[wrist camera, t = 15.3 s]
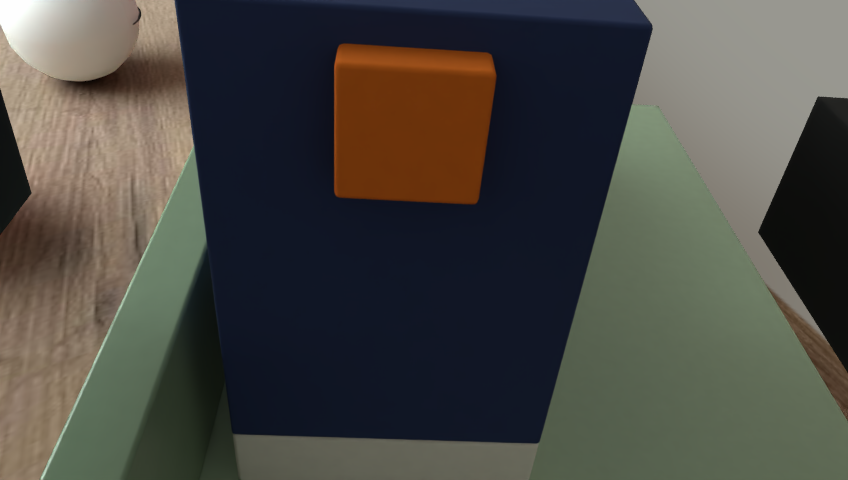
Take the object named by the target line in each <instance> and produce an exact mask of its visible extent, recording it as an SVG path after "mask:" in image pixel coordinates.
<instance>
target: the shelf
mask: <svg viewBox="0 0 848 480" xmlns="http://www.w3.org/2000/svg"><path fill="white" fill-rule="evenodd" d="M40 480H240V479H239V477H238V472H237V464H236V457H235V449H234V441H233V433H232V429H231V421H230V414H229V406H228V399H227V391H226V384H225V376H224V369H223V361H222V354H221V346H220V338H219V331H218V323H217V316H216V308H215V301H214V293H213V286H212V278H211V271H210V263H209V256H208V248H207V241H206V233H205V225H204V218H203V210H202V203H201V195H200V188H199V180H198V173H197V165H196V158H195V150H194V146H193V148H192V150H191V153H190V155H189V157H188V159H187V161H186V163H185V166H184V168H183V170H182V172H181V174H180V176H179V179H178V181H177V183H176V185H175V187H174V189H173V192H172V194H171V196H170V198H169V200H168V202H167V205H166V207H165V209H164V211H163V213H162V215H161V218H160V220H159V222H158V224H157V226H156V228H155V231H154V233H153V235H152V237H151V239H150V242H149V244H148V246H147V248H146V250H145V252H144V255H143V257H142V259H141V261H140V263H139V265H138V268H137V270H136V272H135V274H134V276H133V278H132V281H131V283H130V285H129V287H128V289H127V291H126V294H125V296H124V298H123V300H122V302H121V304H120V307H119V309H118V311H117V313H116V315H115V317H114V320H113V322H112V324H111V326H110V328H109V330H108V333H107V335H106V337H105V339H104V341H103V343H102V346H101V348H100V350H99V352H98V354H97V356H96V359H95V361H94V363H93V365H92V367H91V370H90V372H89V374H88V376H87V378H86V380H85V383H84V385H83V387H82V389H81V391H80V393H79V396H78V398H77V400H76V402H75V404H74V406H73V409H72V411H71V413H70V415H69V417H68V419H67V422H66V424H65V426H64V428H63V430H62V432H61V435H60V437H59V439H58V441H57V443H56V445H55V448H54V450H53V452H52V454H51V456H50V458H49V461H48V463H47V465H46V467H45V469H44V471H43V474H42V476H41V478H40ZM529 480H848V421H847V419H846V418H845V416H844V414H843V413H842V411H841V409H840V408H839V406H838V404H837V403H836V401H835V400H834V398H833V396H832V395H831V393H830V391H829V390H828V388H827V386H826V385H825V383H824V381H823V380H822V378H821V376H820V375H819V373H818V371H817V370H816V368H815V366H814V365H813V363H812V361H811V360H810V358H809V356H808V355H807V353H806V351H805V350H804V348H803V346H802V345H801V343H800V341H799V340H798V338H797V336H796V335H795V333H794V331H793V330H792V328H791V326H790V325H789V323H788V321H787V320H786V318H785V316H784V315H783V313H782V311H781V310H780V308H779V306H778V305H777V303H776V301H775V300H774V298H773V296H772V295H771V293H770V291H769V290H768V288H767V286H766V285H765V283H764V281H763V280H762V278H761V276H760V275H759V273H758V271H757V270H756V268H755V266H754V265H753V263H752V261H751V260H750V258H749V256H748V255H747V253H746V251H745V250H744V248H743V247H742V245H741V243H740V241H739V240H738V238H737V236H736V235H735V233H734V231H733V230H732V228H731V226H730V225H729V223H728V221H727V220H726V218H725V216H724V215H723V213H722V211H721V210H720V208H719V206H718V205H717V203H716V201H715V200H714V198H713V196H712V195H711V193H710V192H709V190H708V188H707V186H706V185H705V183H704V181H703V180H702V179H701V177H700V175H699V173H698V171H697V170H696V168H695V166H694V165H693V163H692V162H691V160H690V158H689V156H688V155H687V153H686V151H685V150H684V148H683V147H682V145H681V143H680V142H679V140H678V138H677V137H676V135H675V133H674V131H673V130H672V128H671V126H670V125H669V124H668V121H667V120H666V118H665V117H664V115H663V113H662V112H661V110H660V108H659V107H658V106H651V105H635V104H632V106H631V110H630V114H629V117H628V121H627V125H626V128H625V132H624V136H623V139H622V143H621V147H620V150H619V154H618V158H617V161H616V165H615V168H614V172H613V176H612V179H611V183H610V187H609V190H608V194H607V198H606V201H605V205H604V209H603V212H602V216H601V220H600V223H599V227H598V231H597V234H596V238H595V242H594V245H593V249H592V253H591V256H590V260H589V264H588V267H587V271H586V275H585V278H584V282H583V286H582V289H581V293H580V296H579V300H578V304H577V307H576V311H575V315H574V318H573V322H572V326H571V329H570V333H569V337H568V340H567V344H566V348H565V351H564V355H563V359H562V362H561V366H560V370H559V373H558V377H557V381H556V384H555V388H554V392H553V395H552V399H551V403H550V406H549V410H548V414H547V417H546V421H545V424H544V428H543V432H542V435H541V439H540V442H539V445H538V449H537V452H536V456H535V460H534V463H533V467H532V471H531V474H530V478H529Z"/></svg>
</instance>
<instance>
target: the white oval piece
mask: <svg viewBox="0 0 848 480" xmlns="http://www.w3.org/2000/svg"><path fill="white" fill-rule="evenodd" d="M140 17H141V11H140V9H139V8H138V7H137V5H136V2H135V0H0V24H1V27H2V29H3V31H4V33H5V35H6V38H7V40H8V42H9V44H10V46H11V48H12V49H13V50H14V51H15V52H16V53H17V54H18V55H19V56H20V57H21V58H22V59H23V60H24V61H25V62H26V63H27V64H29V65H30V66H31V67H33V68H35V69H36V70H38V71H40V72H42V73H44V74H46V75H48V76H50V77H52V78H56V79H59V80H68V81H90V80H94V79H97V78H100V77H103V76H106V75H108V74H110V73H112V72H114V71H116V70H117V69H118V68H119V67H120V66H121V65H122V64H123V63H124V62H125V60H126V59H127V58H128V57H129V56H130V55H131V54H132V51H133V49H134V46H135V44H136V41H137V38H138V34H139V19H140Z"/></svg>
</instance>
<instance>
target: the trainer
mask: <svg viewBox="0 0 848 480" xmlns="http://www.w3.org/2000/svg"><path fill="white" fill-rule="evenodd" d="M175 7H176V15H177V22H178V30H179V37H180V45H181V52H182V60H183V67H184V75H185V82H186V90H187V97H188V105H189V112H190V120H191V128H192V135H193V143H194V150H195V158H196V165H197V173H198V180H199V188H200V195H201V203H202V210H203V218H204V225H205V233H206V241H207V248H208V256H209V263H210V271H211V278H212V286H213V293H214V301H215V308H216V316H217V323H218V331H219V338H220V346H221V354H222V361H223V369H224V376H225V384H226V391H227V399H228V406H229V414H230V421H231V429H232V433H233V441H234V449H235V457H236V464H237V472H238V477H239V479H240V480H529V478H530V474H531V471H532V467H533V463H534V460H535V456H536V452H537V449H538V445H539V442H540V439H541V435H542V432H543V428H544V424H545V421H546V417H547V414H548V410H549V406H550V403H551V399H552V395H553V392H554V388H555V384H556V381H557V377H558V373H559V370H560V366H561V362H562V359H563V355H564V351H565V348H566V344H567V340H568V337H569V333H570V329H571V326H572V322H573V318H574V315H575V311H576V307H577V304H578V300H579V296H580V293H581V289H582V286H583V282H584V278H585V275H586V271H587V267H588V264H589V260H590V256H591V253H592V249H593V245H594V242H595V238H596V234H597V231H598V227H599V223H600V220H601V216H602V212H603V209H604V205H605V201H606V198H607V194H608V190H609V187H610V183H611V179H612V176H613V172H614V168H615V165H616V161H617V158H618V154H619V150H620V147H621V143H622V139H623V136H624V132H625V128H626V125H627V121H628V117H629V114H630V110H631V106H632V102H633V99H634V95H635V91H636V88H637V84H638V81H639V77H640V73H641V70H642V66H643V62H644V59H645V55H646V51H647V48H648V44H649V40H650V37H651V33H652V29H653V28H652V24H651V23H650V21H649V20H648V19H647V17H646V16H645V15H644V13H643V12H642V11H641V9H640V8H639V6H638V5H637V3H636V2H635V1H634V0H175Z"/></svg>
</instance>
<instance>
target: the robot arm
mask: <svg viewBox="0 0 848 480" xmlns="http://www.w3.org/2000/svg"><path fill="white" fill-rule="evenodd" d="M30 195H31V190H30V186H29V183H28V180H27V176H26V173H25V170H24V166H23V163H22V160H21V156H20V153H19V150H18V146H17V143H16V140H15V136H14V133H13V130H12V126H11V123H10V120H9V116H8V113H7V110H6V106H5V103H4V100H3V96H2V93H1V90H0V235H1V233H2V232H3V231H4V229H5V228H6V227H7V225H8V224H9V223H10V221H11V220H12V219H13V217H14V216H15V215H16V213H17V212H18V211H19V209H20V208H21V207H22V205H23V204H24V203H25V201H26V200H27V199H28V197H29V196H30ZM758 233H759V234H760V236H761V237H762V239H763V240H764V242H765V243H766V245H767V247H768V248H769V250H770V251H771V253H772V254H773V256H774V258H775V259H776V261H777V262H778V264H779V266H780V267H781V269H782V270H783V272H784V273H785V275H786V277H787V278H788V279H789V281H790V283H791V284H792V286H793V287H794V289H795V291H796V292H797V294H798V295H799V297H800V299H801V300H802V301H803V303H804V305H805V306H806V308H807V309H808V311H809V313H810V314H811V316H812V317H813V319H814V320H815V322H816V324H817V325H818V327H819V328H820V330H821V331H822V333H823V335H824V336H825V338H826V339H827V341H828V342H829V344H830V346H831V347H832V349H833V350H834V352H835V353H836V355H837V357H838V358H839V360H840V361H841V363H842V364H843V366H844V368H845V369H846V371H847V372H848V99H847V98H833V97H818V98H817V100H816V102H815V105H814V107H813V109H812V111H811V113H810V116H809V118H808V120H807V123H806V125H805V127H804V130H803V132H802V134H801V136H800V138H799V141H798V143H797V145H796V147H795V150H794V152H793V154H792V157H791V159H790V161H789V163H788V166H787V168H786V170H785V172H784V175H783V177H782V179H781V181H780V184H779V186H778V188H777V191H776V193H775V195H774V197H773V200H772V202H771V205H770V206H769V209H768V211H767V213H766V216H765V218H764V220H763V222H762V225H761V227H760V229H759V232H758Z"/></svg>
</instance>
